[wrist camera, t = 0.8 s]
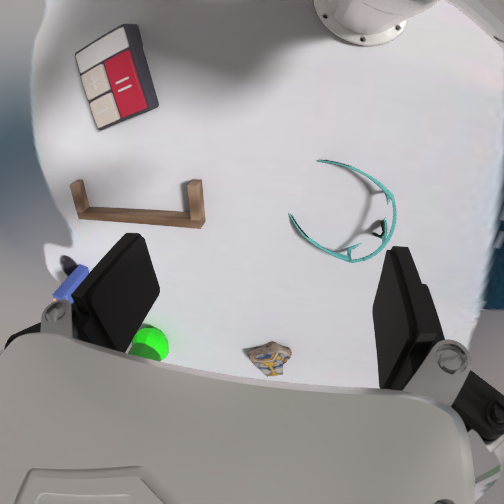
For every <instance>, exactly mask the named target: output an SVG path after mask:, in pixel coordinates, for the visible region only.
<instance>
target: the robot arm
mask: <svg viewBox="0 0 504 504" xmlns="http://www.w3.org/2000/svg"><path fill="white" fill-rule="evenodd" d="M438 1H439V0H313V3H314V7H315V11H316V13H317V15H318V17H319V18H320V20H321V21H322V23H323V24H324V25H325V26H326V27H327V28H328V29H329V30H330V31H331V32H332V33H334V34H335V35H337V36H338V37H340V38H342V39H344V40H346V41H348V42H351V43H354V44H358V45H363V46H376V45H382V44H385V43H388V42H390V41H392V40H394V39H395V38H397V37H398V36H399V35H400V34H401V33H402V32H403V31H404V29H405V27H406V25H407V21H408V19H409V18H411V17H413V16H415V15H417V14H419V13H421V12H423V11H425V10H427V9H429V8H430V7H432V6H433V5H435V4H436V3H437V2H438ZM445 1H447V2H448V3H450V4H452V5H454V6H455V7H456V8H458V9H459V10H460V11H461V12H463V13H464V14H465V15H466V16H468V17H469V18H470V19H471V20H472V21H473V22H475V23H476V24H477V25H478V26H479V27H480V28H481V29H483V30H484V31H485V32H486V33H487V34H488V35H489V36H490V37H491V38H492V39H493V40H494V41H495V42H496V43H497V44H498V45H499V46H500V47H501V48H502V49H503V50H504V0H445ZM323 16H327V18H326V19H325V18H324V17H323ZM395 27H397V28H398V30H396V29H395ZM360 38H362V39H363V41H360ZM159 293H160V287H159V284H158V281H157V277H156V274H155V271H154V268H153V265H152V262H151V259H150V255H149V252H148V249H147V245H146V242H145V239H144V238H143V237H142V236H141V235H140V234H139V233H126V234H125V235H124V236H123V237H122V238H121V239H120V240H119V241H118V242H117V243H116V244H115V245H114V246H113V247H112V248H111V249H110V251H109V252H108V253H107V254H106V255H105V256H104V257H103V258H102V259H101V260H100V262H99V263H98V264H97V265H96V266H95V267H94V268H93V270H92V271H91V272H90V273H89V274H88V275H87V276H86V278H85V279H84V280H83V281H82V282H81V283H80V285H79V286H78V287H77V288H76V289H75V291H74V292H73V293H72V294H71V297H72V299H73V301H74V302H73V303H72V304H71V303H70V302H69V300H66V299H60V300H56V301H54V302H52V303H51V304H50V305H48V306H47V307H46V309H45V310H44V312H43V313H42V317H41V322H40V323H38V324H36V325H33V326H31V327H29V328H27V329H25V330H22V331H20V332H18V333H16V334H13V335H12V336H11V337H10V338H9V339H8V341H7V343H6V345H5V349H4V351H3V350H1V351H0V504H504V395H502V394H501V393H500V392H498V391H497V390H496V389H495V388H493V387H492V386H491V385H489V384H488V383H487V382H485V381H484V380H483V379H482V378H480V377H479V376H478V375H476V374H475V373H474V372H472V371H471V370H470V369H471V365H472V360H471V356H470V353H469V352H468V350H467V349H466V348H465V347H464V346H463V345H462V344H461V343H459V342H456V341H454V340H445V338H444V335H443V331H442V328H441V325H440V321H439V318H438V315H437V312H436V309H435V306H434V303H433V300H432V297H431V294H430V291H429V288H428V286H427V285H426V284H422V283H421V280H420V277H419V274H418V271H417V269H416V266H415V263H414V261H413V258H412V256H411V253H410V251H409V248H408V247H399V246H393V247H392V249H391V250H387V251H386V255H385V260H384V264H383V268H382V273H381V277H380V281H379V285H378V289H377V292H376V296H375V300H374V304H373V321H374V330H375V339H376V349H377V360H378V373H379V387H380V389H376V388H358V387H337V386H323V385H310V384H297V383H287V382H277V381H268V380H260V379H253V378H246V377H239V376H232V375H226V374H220V373H214V372H208V371H203V370H197V369H192V368H187V367H182V366H177V365H173V364H168V363H164V362H159V361H155V360H151V359H147V358H142V357H138V356H134V355H131V354H127V353H125V352H126V350H127V348H128V347H129V345H130V343H131V341H132V340H133V338H134V336H135V334H136V333H137V331H138V329H139V327H140V326H141V324H142V322H143V321H144V319H145V317H146V316H147V314H148V312H149V311H150V309H151V307H152V306H153V304H154V302H155V301H156V299H157V297H158V296H159ZM474 476H475V485H474Z"/></svg>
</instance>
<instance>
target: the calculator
mask: <svg viewBox="0 0 504 504" xmlns="http://www.w3.org/2000/svg"><path fill="white" fill-rule="evenodd" d="M75 58H76V62H77V65H78V69H79V72H80V75H81V79H82V82H83V86H84V89H85V92H86V95H87V98H88V101H89V104H90V107H91V110H92V113H93V116H94V119H95V122H96V124H97V127H98V129H99V130H103V129H105V128H107V127H110V126H112V125H114V124H117V123H119V122H121V121H124V120H126V119H129V118H131V117H134V116H136V115H139V114H142V113H144V112H147V111H150V110H152V109H154V108H157V107H158V106H159V103H158V99H157V96H156V92H155V89H154V85H153V82H152V78H151V75H150V71H149V68H148V65H147V61H146V58H145V55H144V51H143V44H142V40H141V36H140V32H139V28H138V25H136V24H123V25H121V26H119V27H117V28H115V29H114V30H112V31H110V32H108V33H107V34H105V35H103V36H102V37H100V38H98V39H97V40H95V41H93V42H92V43H90V44H89V45H87V46H86V47H84V48H82V49H81V50H79V51H78V52H77V53H76V54H75Z"/></svg>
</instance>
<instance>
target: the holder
mask: <svg viewBox="0 0 504 504" xmlns="http://www.w3.org/2000/svg"><path fill="white" fill-rule="evenodd" d="M70 188H71V192H72V196H73V199H74V203H75V207H76V210H77V214H78V217H79V219H85V220H99V221H113V222H126V223H139V224H151V225H163V226H175V227H186V228H197V229H201V227H202V226H203V224H204V223H205V211H204V200H203V188H202V180H194V179H193V180H192V181H191V182H190V183H189V184H188V185H187V190H188V199H189V208H190V212H177V211H161V210H144V209H125V208H104V207H89V204H88V200H87V196H86V192H85V187H84V183H83V180H77V181H75V182H74V183H72V184H71V185H70Z"/></svg>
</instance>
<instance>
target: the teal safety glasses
mask: <svg viewBox="0 0 504 504" xmlns="http://www.w3.org/2000/svg"><path fill="white" fill-rule="evenodd" d="M317 161H318V162H325V163H331V164H336V165H340V166H343V167H347V168H350V169H352V170H355V171H357V172H359V173H361V174H363V175H365V176H366V177H368V178H369V179H371V180H372V181H373V182H374V183H375V184H377V185H378V186H379V187H380V188H381V189H382V190H383V191H384V192H385V193H386V196H387V205H388V199H389V202H390V199H391V200H392V205H393V222H392V227H391V230H390V232H389V234H388V236H387V222H386V221H385V219H384V220H383V221H381V227H382V231H383V232H382V234H381V235H378V234H377V233H372V234H373V235H374V236H376V237H379V238H381V239H382V245H381V246H380V247H379V248H378V249H377V250H376V251H375V252H373V253H371V254H370V255H368V256H366V257H363V258H359V259H355V260H351V250H352V249H354V248H356V246H357V247H358V245H360V244H361V243H360V244H357V245H355V246H351V247H348V251H347V256H346V255H344V256H343V254H340V253H337V252H333V251H329V250H327V249H325V248H323V247H322V246H320V245H319V244H318V243H316V242H315V241H313V240H312V239H311V238H309V237H308V236H307V235H306V234H305V233H304V232H303V231H302V229H301V228H300V227H299V225H298V224H297V222H296V221H295V219H294V218H293V216H292V215H291V214H289V213H288V214H289V216H290V218H291V219H292V221H293V223H294V224H295V226H296V227H297V229H298V230H299V231H300V232H301V234H302V235H303V236H304V237H305V238H306V239H307V240H308V241H310V242H311V243H312V244H314V245H315V246H317V247H318V248H320V249H321V250H323V251H325V252H326V253H328V254H330V255H332V256H334V257H337V258H339V259H342V260H344V261H347V262H351V263H355V262H360V261H365V260H367V259H370V258H372V257H373V256H375V255H376V254H378V253H379V252H380V251H381V250H382V249H383V248H384V247H385V246H386V245H387V243H388V242H389V240H390V238H391V236H392V234H393V231H394V229H395V224H396V205H395V200H394V196H393V194H392V193H391V192H390V191H389V190H388V189H387V188H386V187H385V186H384V185H383V184H381V183H380V182H379V181H377V180H376V179H374V178H373V177H371V176H369V175H368V174H366V173H364V172H362V171H360V170H358V169H356V168H354V167H352V166H349V165H346V164H342V163H338V162H334V161H328V160H317ZM386 236H387V238H386Z"/></svg>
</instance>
